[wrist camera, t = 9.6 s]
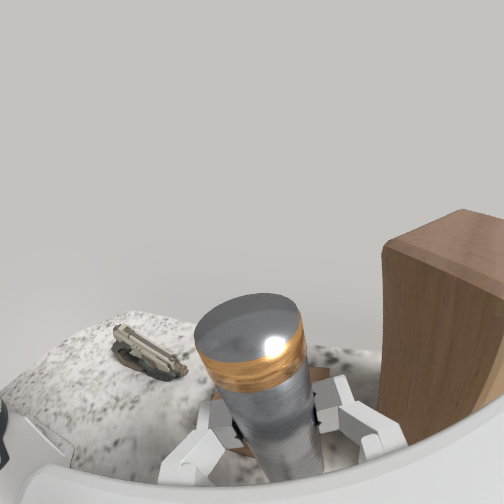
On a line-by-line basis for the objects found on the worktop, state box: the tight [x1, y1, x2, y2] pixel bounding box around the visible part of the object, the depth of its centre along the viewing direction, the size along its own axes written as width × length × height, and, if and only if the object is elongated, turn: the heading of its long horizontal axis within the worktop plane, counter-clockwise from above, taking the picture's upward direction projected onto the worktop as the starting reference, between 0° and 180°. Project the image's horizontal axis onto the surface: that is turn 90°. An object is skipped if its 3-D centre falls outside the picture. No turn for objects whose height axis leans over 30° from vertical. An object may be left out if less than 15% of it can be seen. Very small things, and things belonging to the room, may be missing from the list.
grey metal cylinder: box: [194, 293, 324, 483], centre depth 10 cm, size 3×3×11 cm
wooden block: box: [377, 209, 504, 446], centre depth 16 cm, size 10×10×20 cm
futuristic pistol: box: [111, 323, 188, 381], centre depth 38 cm, size 2×15×10 cm, turn 66°
